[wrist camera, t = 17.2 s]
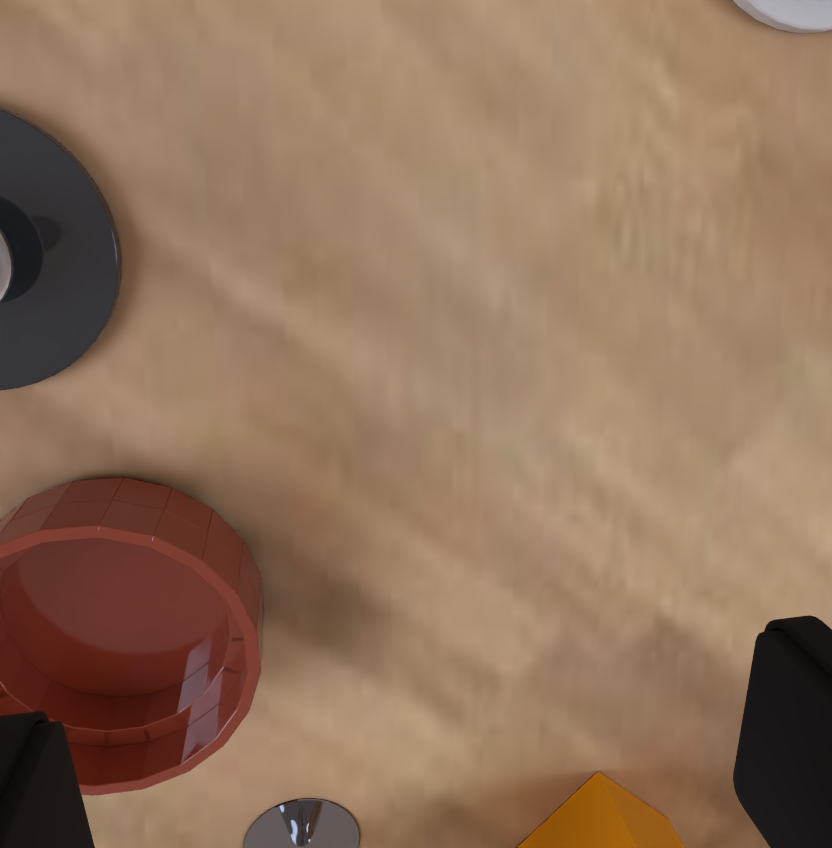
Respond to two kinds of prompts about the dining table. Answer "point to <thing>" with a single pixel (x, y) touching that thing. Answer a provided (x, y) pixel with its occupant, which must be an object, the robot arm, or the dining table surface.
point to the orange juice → (604, 821)
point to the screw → (5, 265)
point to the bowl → (128, 627)
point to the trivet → (51, 255)
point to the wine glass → (304, 826)
